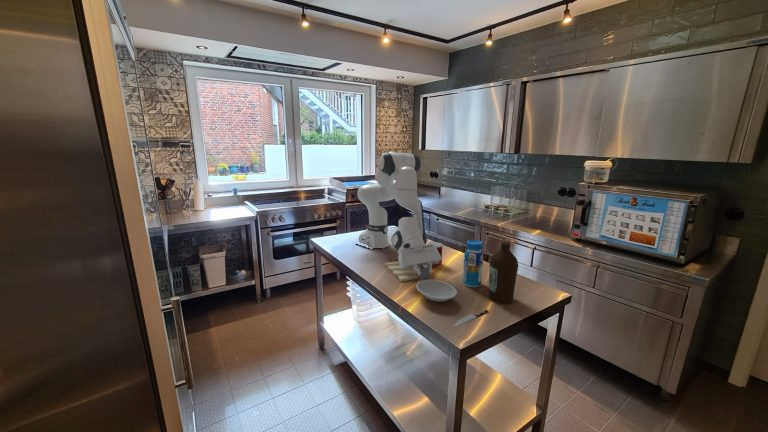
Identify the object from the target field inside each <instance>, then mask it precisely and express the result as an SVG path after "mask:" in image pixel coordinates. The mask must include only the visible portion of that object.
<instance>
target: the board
mask: <svg viewBox="0 0 768 432" xmlns="http://www.w3.org/2000/svg"><path fill="white" fill-rule="evenodd" d="M385 266H386V267H387V268H388V269H389V270H390V271H391V272H392V273H393V274H394V275H395V276H396V277H397V278H398V279H399V280H398V279H397V278H396V279H397V280H398V281H400V282H401V281H403V282H406V281H413V279H414V280H417V279H419V280H420V275H419V276H418V274H417V272H416V271H415V270H414V269H413V267H410V268H404V269H402V268H401V267H400V265H399V260H397V261H391V262H385V263H384V267H385ZM386 267H385V268H386ZM420 267H421V266H418V267H417V268H418V269H419V270H420ZM387 268H386V269H387ZM388 269H387V270H388ZM389 270H388V271H389ZM391 272H390V273H391ZM392 273H391V274H392ZM393 274H392V275H393ZM394 275H393V276H394ZM395 276H394V277H395Z"/></svg>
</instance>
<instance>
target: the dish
mask: <svg viewBox="0 0 768 432" xmlns="http://www.w3.org/2000/svg"><path fill="white" fill-rule="evenodd" d="M415 288H416V289H417V291H418V292H419V293H421V295H422V296H424V297H425V298H426V299H428V300H430V301H433V302H439V303H440V302H446V301H449V300H450V299H452V298H455V297H456V296H457V294H458V291H457V289H456V288H455V286H453V285H452V284H450V283H448V282H445V281H443V280H439V279H438V280H437V279H429V280H422V281H420V280H419V281H418V282H417V283H416V287H415Z"/></svg>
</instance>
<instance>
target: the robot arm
mask: <svg viewBox="0 0 768 432" xmlns="http://www.w3.org/2000/svg"><path fill="white" fill-rule="evenodd" d="M421 162H422V161H421V158H420V156H419V155H418V154H414V153H408V152H395V151H388V152H383V153H382V154H381V155H380V156H379V159H378V167H377V170H376V172H375V174H374V178H375V182H376V183H367V184H364V185H360V186H359V188H358V190H357V192H356V193H357V195H356V196H357V197H358V198H357V199H358V201H360V202H361V203H363V204H364V205H365V206H366V208H367V211H368V221H369V223H367V224H366V229H365V230H364V231H362V232H361V233H360V234H359V236H358V240H359V242H360V243H363V244H366V245H368V248H382V247H387V246H389V244H390V241H389V235H388V234H389V233H388V231H389V223H388V212H387V210H386V209H385V208H384V207H382V206H380V202H388V201H389V202H390V201H391V200H395V202H396V203H397V204H398V205H399V206H400V207H403V208H404V209H406V210H409V211H411V213H412V215H413V216H403V217H401V218H400V219H398V226H397V229H396V231H395V232H394V233H393V235H392V236H391V243H392V246H393V248H394V249H395V250H396V251H397V254H398V256H397V259H398V260H397V261H399V265H400V267H401V268H402V269H404V268H410V267H413V269H414V270H415V271H416V272H417V274H418V276H419V275H422V271H421V270H419V269H418V268H417V267H418V266H420V267H421V266H423V265H426V266H428V267H429V275H430V274H432V273H433V270H432V267H433V266H432V264H434V263H439V262H440V261H441V256H440V254H439V252H438V250H437V248H436V246H434V245H432V244H430V245H427V244H428V238H427V233H426V228H425V227H426V226H425V217H424V216H425V215H424V207H423V203H422V200H420V199H419V196H418V177H417V176H418V175H417V173H418V172H419V171H420V169H421V165H422V164H421ZM389 247H390V246H389ZM387 248H388V247H387ZM382 249H383V248H382Z"/></svg>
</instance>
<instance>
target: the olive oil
mask: <svg viewBox="0 0 768 432" xmlns="http://www.w3.org/2000/svg"><path fill="white" fill-rule="evenodd" d="M510 248H511V240H509V239H501V242H500V249H498V250H497V251H496V252H495V253H493V254H492V256H491V257H490V258H489V259H490V260H489V265H488V266H489V269H488V271H489V273H488V298H489V300H490V301H492V302H493V303H496V304H499V305H509V304H512V303H513V301H514V295H515V289H516V288H515V287H516V281H517V275H518V270H519V262H518V259H517V257H516V255H514V254H513V252H512V251H511V250H510Z"/></svg>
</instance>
